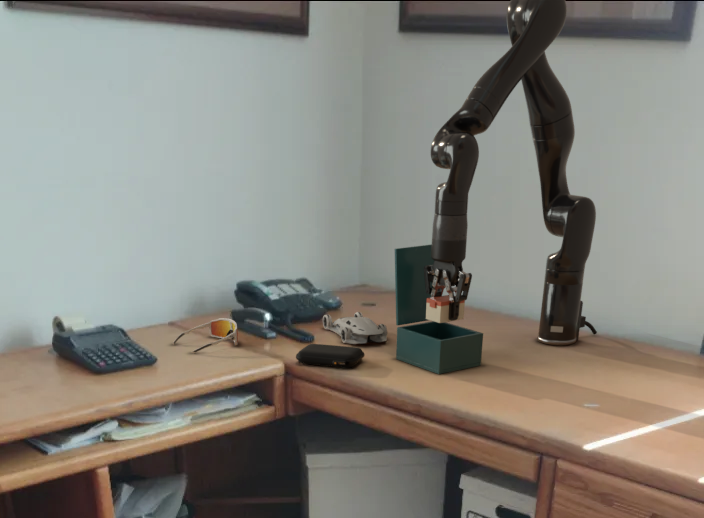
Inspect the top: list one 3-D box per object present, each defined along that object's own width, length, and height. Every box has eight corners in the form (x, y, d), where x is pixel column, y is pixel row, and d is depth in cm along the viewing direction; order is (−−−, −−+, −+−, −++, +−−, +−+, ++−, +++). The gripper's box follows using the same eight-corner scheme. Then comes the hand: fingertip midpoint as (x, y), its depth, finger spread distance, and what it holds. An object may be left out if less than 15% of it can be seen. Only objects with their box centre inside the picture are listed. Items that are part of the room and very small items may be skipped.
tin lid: (439, 243, 215) (424, 242, 219) (396, 248, 208) (381, 247, 212) (439, 318, 222) (425, 316, 226) (397, 325, 216) (384, 323, 220)
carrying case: (291, 365, 215) (352, 371, 211) (291, 352, 213) (352, 357, 209) (307, 354, 224) (366, 359, 220) (307, 341, 222) (366, 346, 218)
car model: (359, 323, 250) (359, 304, 248) (395, 345, 231) (395, 324, 228) (320, 327, 247) (319, 307, 244) (353, 349, 228) (353, 328, 225)
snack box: (450, 314, 215) (451, 294, 213) (465, 319, 212) (466, 298, 209) (424, 319, 211) (425, 298, 209) (438, 323, 208) (439, 302, 206)
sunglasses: (250, 344, 231) (247, 324, 228) (198, 363, 224) (193, 342, 221) (221, 333, 240) (217, 314, 237) (169, 351, 234) (165, 331, 231)
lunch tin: (480, 365, 216) (483, 333, 212) (438, 374, 209) (440, 341, 206) (437, 351, 226) (438, 320, 223) (396, 359, 220) (396, 327, 216)
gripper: (484, 239, 200) (478, 321, 208) (441, 230, 210) (436, 309, 218) (458, 242, 196) (452, 325, 205) (415, 233, 206) (411, 313, 215)
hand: (444, 317), depth 211 cm, fingers closed on snack box, 5 cm apart
